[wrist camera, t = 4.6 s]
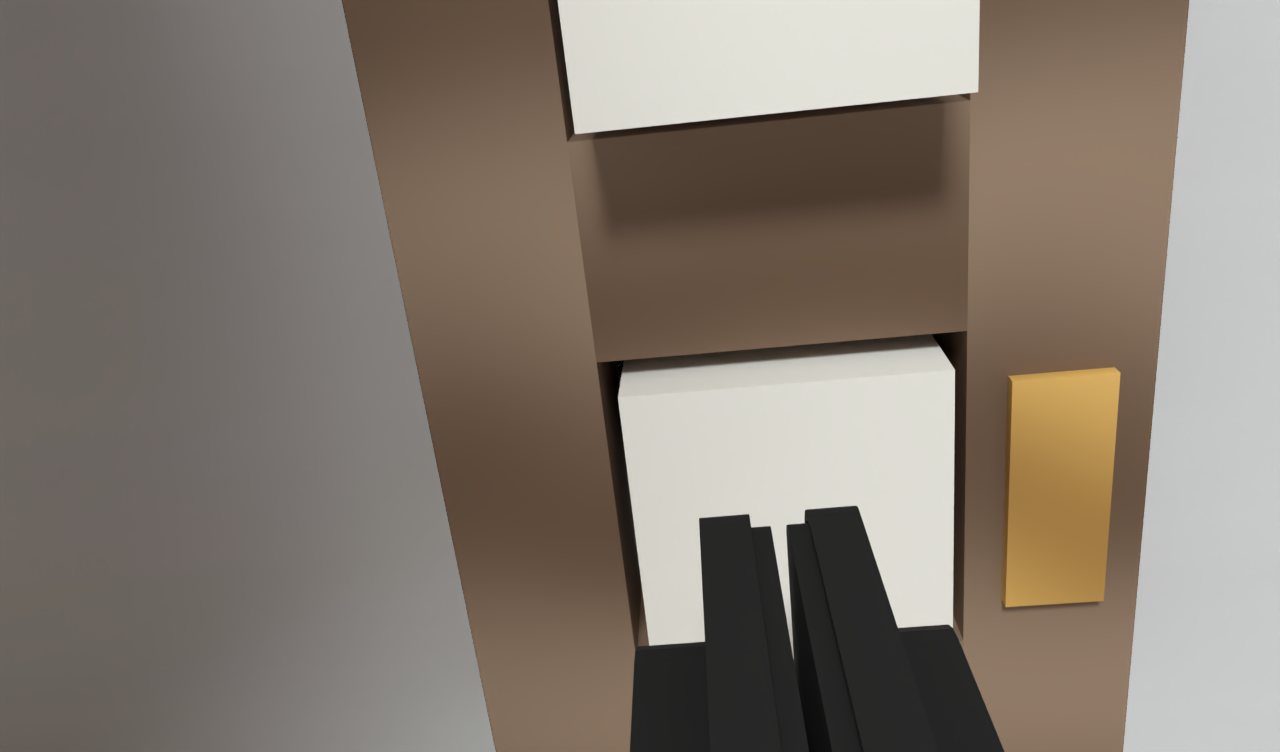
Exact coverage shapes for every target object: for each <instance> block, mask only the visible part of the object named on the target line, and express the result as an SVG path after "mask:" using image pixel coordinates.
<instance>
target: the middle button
mask: <svg viewBox="0 0 1280 752" xmlns="http://www.w3.org/2000/svg"><path fill="white" fill-rule="evenodd" d="M558 8H559V16H560V23H561V31H562V39H563V46H564V54H565V62H566V69H567V77H568V85H569V92H570V100H571V108H572V115H573V123H574V131H575V134H582V133H591V132H601V131H611V130H620V129H630V128H639V127H649V126H659V125H668V124H678V123H687V122H697V121H707V120H716V119H726V118H735V117H745V116H755V115H764V114H774V113H783V112H793V111H803V110H812V109H822V108H831V107H841V106H850V105H860V104H870V103H879V102H889V101H898V100H908V99H918V98H927V97H937V96H946V95H956V94H966V93H975V92H978V80H979V17H980V0H558Z"/></svg>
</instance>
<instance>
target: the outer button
mask: <svg viewBox="0 0 1280 752" xmlns="http://www.w3.org/2000/svg"><path fill="white" fill-rule="evenodd" d="M618 403H619V411H620V418H621V426H622V434H623V442H624V450H625V458H626V466H627V474H628V482H629V489H630V497H631V505H632V513H633V521H634V529H635V537H636V545H637V552H638V560H639V568H640V576H641V584H642V592H643V600H644V608H645V616H646V623H647V631H648V639H649V646H651V645H665V644H679V643H693V642H705V631H704V611H703V591H702V570H701V550H700V530H699V518H706V517H718V516H731V515H743V514H749V516H750V523H751V527H763V526H771V530H772V536H773V542H774V548H775V554H776V560H777V566H778V572H779V578H780V583H781V589H782V595H783V601H784V607H785V613H786V619H787V625H788V631H789V636H790V642H791V648H792V654H793V659H794V652H793V635H792V619H791V602H790V586H789V569H788V553H787V535H786V526H787V525H789V524H802V523H805V520H804V517H805V510H806V509H819V508H832V507H844V506H857V507H858V509H859V511H860V514H861V517H862V520H863V523H864V526H865V529H866V532H867V535H868V538H869V542H870V545H871V548H872V551H873V554H874V557H875V560H876V563H877V566H878V569H879V572H880V575H881V578H882V581H883V584H884V587H885V590H886V593H887V596H888V599H889V602H890V606H891V609H892V612H893V615H894V618H895V621H896V624H897V627H898V628H905V627H919V626H933V625H947V624H948V625H950V626H951V627H952V628H953V556H954V436H955V369H954V368H953V366H952V364H951V363H950V361H949V360H948V358H947V357H946V355H945V354H944V352H943V351H942V349H941V348H940V346H939V345H938V343H937V342H936V340H935V339H934V337H933V336H932V334H925V335H913V336H901V337H890V338H878V339H866V340H854V341H843V342H831V343H819V344H808V345H796V346H784V347H772V348H761V349H749V350H737V351H725V352H714V353H702V354H690V355H678V356H667V357H655V358H643V359H632V360H624V363H623V369H622V376H621V382H620V388H619V394H618Z"/></svg>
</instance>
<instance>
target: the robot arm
mask: <svg viewBox="0 0 1280 752" xmlns="http://www.w3.org/2000/svg"><path fill="white" fill-rule="evenodd" d="M804 520H805V523H802V524H789V525H787V526H786V535H787V553H788V569H789V586H790V602H791V619H792V635H793V652H794V660H793V654H792V648H791V642H790V636H789V631H788V625H787V619H786V613H785V607H784V601H783V595H782V589H781V583H780V578H779V572H778V566H777V560H776V554H775V548H774V542H773V536H772V530H771V526H763V527H751V523H750V516H749V514H743V515H731V516H718V517H706V518H699V530H700V550H701V570H702V591H703V611H704V631H705V642H693V643H679V644H665V645H651V646H637V647H636V650H635V659H634V677H633V697H632V717H631V737H630V752H1004V749H1003V747H1002V744H1001V742H1000V739H999V737H998V735H997V732H996V730H995V727H994V725H993V722H992V720H991V717H990V715H989V713H988V710H987V708H986V705H985V703H984V700H983V698H982V695H981V693H980V691H979V688H978V686H977V683H976V681H975V678H974V676H973V673H972V671H971V669H970V666H969V664H968V661H967V659H966V656H965V654H964V651H963V649H962V647H961V644H960V642H959V639H958V637H957V635H956V633H955V631H954V629H953V628H952V627H951V626H950V625H948V624H947V625H933V626H919V627H905V628H898V627H897V624H896V621H895V618H894V615H893V612H892V609H891V606H890V602H889V599H888V596H887V593H886V590H885V587H884V584H883V581H882V578H881V575H880V572H879V569H878V566H877V563H876V560H875V557H874V554H873V551H872V548H871V545H870V542H869V538H868V535H867V532H866V529H865V526H864V523H863V520H862V517H861V514H860V511H859V509H858V507H857V506H844V507H832V508H819V509H806V510H805V517H804Z"/></svg>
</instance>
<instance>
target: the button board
mask: <svg viewBox="0 0 1280 752" xmlns="http://www.w3.org/2000/svg"><path fill="white" fill-rule="evenodd" d="M342 4H343V8H344V13H345V18H346V23H347V28H348V33H349V38H350V43H351V47H352V52H353V57H354V62H355V67H356V72H357V77H358V82H359V86H360V91H361V96H362V101H363V106H364V111H365V116H366V121H367V125H368V130H369V135H370V140H371V145H372V150H373V155H374V160H375V165H376V169H377V174H378V179H379V184H380V189H381V194H382V199H383V204H384V208H385V213H386V218H387V223H388V228H389V233H390V238H391V243H392V247H393V252H394V257H395V262H396V267H397V272H398V277H399V282H400V286H401V291H402V296H403V301H404V306H405V311H406V316H407V321H408V326H409V330H410V335H411V340H412V345H413V350H414V355H415V360H416V365H417V369H418V374H419V379H420V384H421V389H422V394H423V399H424V404H425V408H426V413H427V418H428V423H429V428H430V433H431V438H432V443H433V447H434V452H435V457H436V462H437V467H438V472H439V477H440V482H441V487H442V491H443V496H444V501H445V506H446V511H447V516H448V521H449V526H450V530H451V535H452V540H453V545H454V550H455V555H456V560H457V565H458V569H459V574H460V579H461V584H462V589H463V594H464V599H465V604H466V608H467V613H468V618H469V623H470V628H471V633H472V638H473V643H474V648H475V652H476V657H477V662H478V667H479V672H480V677H481V682H482V687H483V691H484V696H485V701H486V706H487V711H488V716H489V721H490V726H491V730H492V735H493V740H494V745H495V750H496V752H630V737H631V717H632V697H633V677H634V659H635V650H636V647H637V646H649V639H648V631H647V623H646V616H645V608H644V600H643V592H642V584H641V576H640V568H639V560H638V552H637V545H636V537H635V529H634V521H633V513H632V505H631V497H630V489H629V482H628V474H627V466H626V458H625V450H624V442H623V434H622V426H621V418H620V411H619V403H618V394H619V388H620V384H619V376H618V368H617V361H620V360H632V359H643V358H655V357H667V356H678V355H690V354H702V353H714V352H725V351H737V350H749V349H761V348H772V347H784V346H796V345H808V344H819V343H831V342H843V341H854V340H866V339H878V338H890V337H901V336H913V335H925V334H932V336H933V337H934V339H935V340H936V342H937V343H938V345H939V346H940V348H941V349H942V351H943V352H944V354H945V355H946V357H947V358H948V360H949V361H950V363H951V364H952V366H953V368H954V369H955V436H954V556H953V629H954V631H955V633H956V635H957V637H958V639H959V642H960V644H961V647H962V649H963V651H964V654H965V656H966V659H967V661H968V664H969V666H970V669H971V671H972V673H973V676H974V678H975V681H976V683H977V686H978V688H979V691H980V693H981V695H982V698H983V700H984V703H985V705H986V708H987V710H988V713H989V715H990V717H991V720H992V722H993V725H994V727H995V730H996V732H997V735H998V737H999V739H1000V742H1001V744H1002V747H1003V749H1004V752H1123V744H1124V733H1125V722H1126V710H1127V699H1128V688H1129V676H1130V665H1131V654H1132V642H1133V631H1134V620H1135V608H1136V597H1137V586H1138V574H1139V563H1140V552H1141V540H1142V529H1143V518H1144V506H1145V495H1146V484H1147V472H1148V461H1149V450H1150V438H1151V427H1152V416H1153V404H1154V393H1155V382H1156V371H1157V359H1158V348H1159V337H1160V325H1161V314H1162V303H1163V291H1164V280H1165V269H1166V257H1167V246H1168V235H1169V223H1170V212H1171V201H1172V189H1173V178H1174V167H1175V155H1176V144H1177V133H1178V121H1179V110H1180V99H1181V87H1182V76H1183V65H1184V53H1185V42H1186V31H1187V19H1188V8H1189V0H980V17H979V80H978V92H975V93H966V94H956V95H946V96H937V97H927V98H918V99H908V100H898V101H889V102H879V103H870V104H860V105H850V106H841V107H831V108H822V109H812V110H803V111H793V112H783V113H774V114H764V115H755V116H745V117H735V118H726V119H716V120H707V121H697V122H687V123H678V124H668V125H659V126H649V127H639V128H630V129H620V130H611V131H601V132H591V133H582V134H575V131H574V123H573V115H572V108H571V100H570V92H569V85H568V77H567V69H566V62H565V54H564V46H563V39H562V31H561V23H560V16H559V8H558V0H342ZM793 660H794V659H793Z"/></svg>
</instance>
